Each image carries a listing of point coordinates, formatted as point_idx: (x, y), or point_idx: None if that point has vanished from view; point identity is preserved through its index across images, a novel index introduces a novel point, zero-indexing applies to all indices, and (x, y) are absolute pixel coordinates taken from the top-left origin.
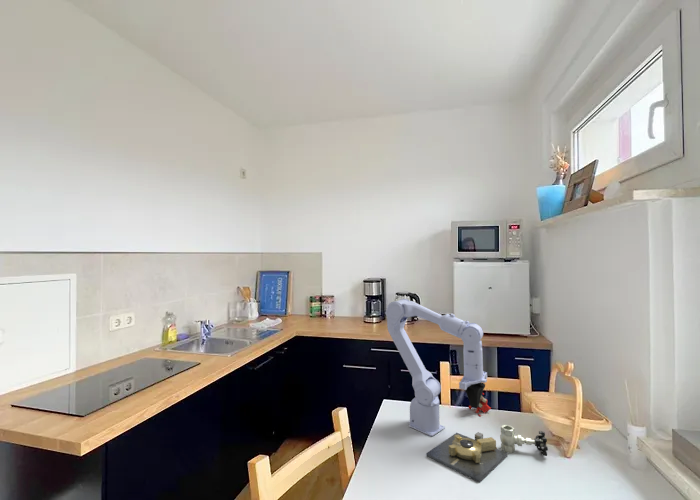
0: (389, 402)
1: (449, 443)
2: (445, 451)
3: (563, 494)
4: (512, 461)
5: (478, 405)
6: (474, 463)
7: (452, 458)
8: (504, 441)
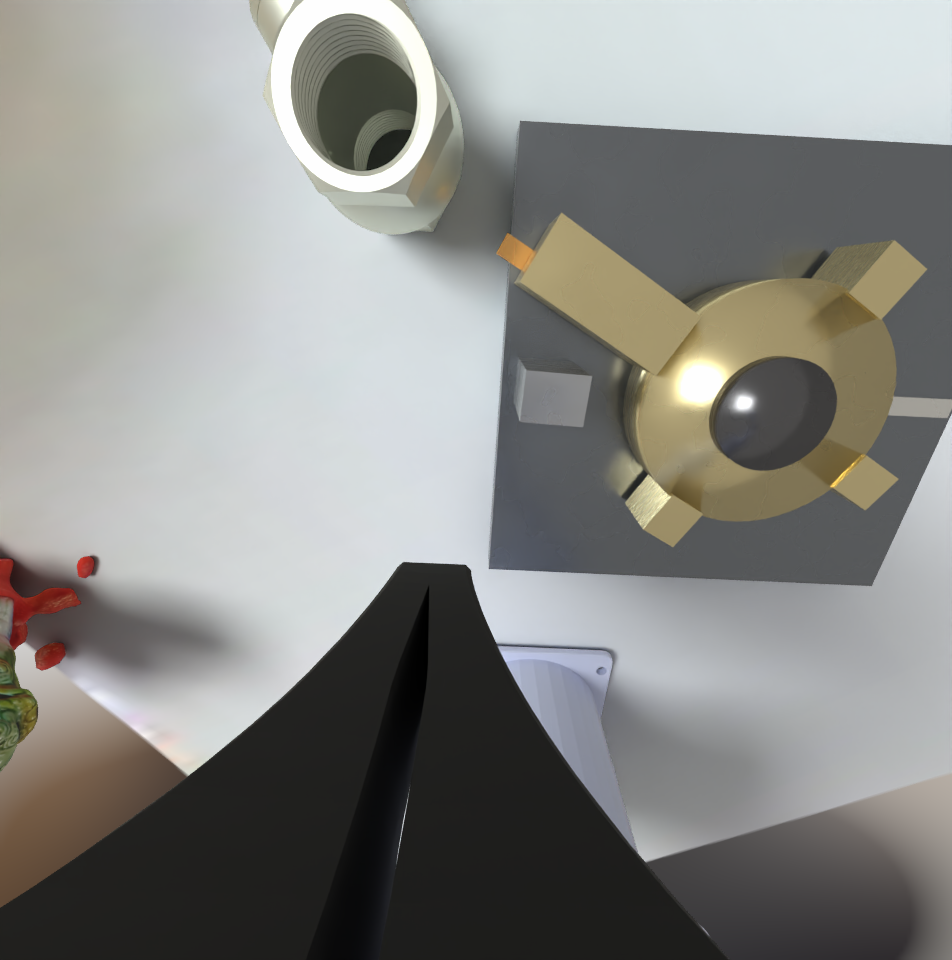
0: None
1: None
2: (789, 513)
3: None
4: (571, 54)
5: (416, 573)
6: None
7: None
8: (463, 155)
